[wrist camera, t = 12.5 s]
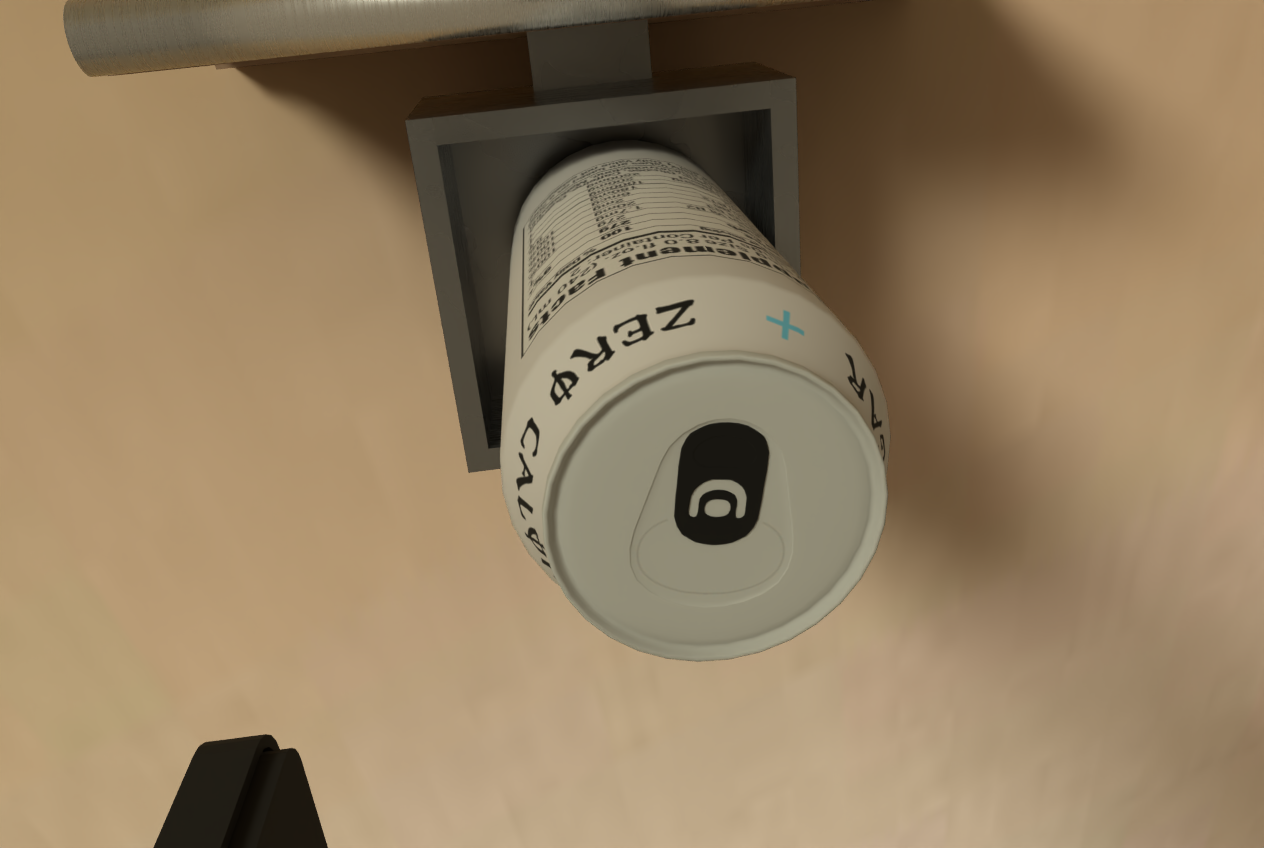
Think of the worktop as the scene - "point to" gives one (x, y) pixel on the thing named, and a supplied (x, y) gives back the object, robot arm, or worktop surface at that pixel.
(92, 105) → the worktop surface
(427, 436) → the worktop surface
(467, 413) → the cup bracket
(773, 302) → the energy drink can
